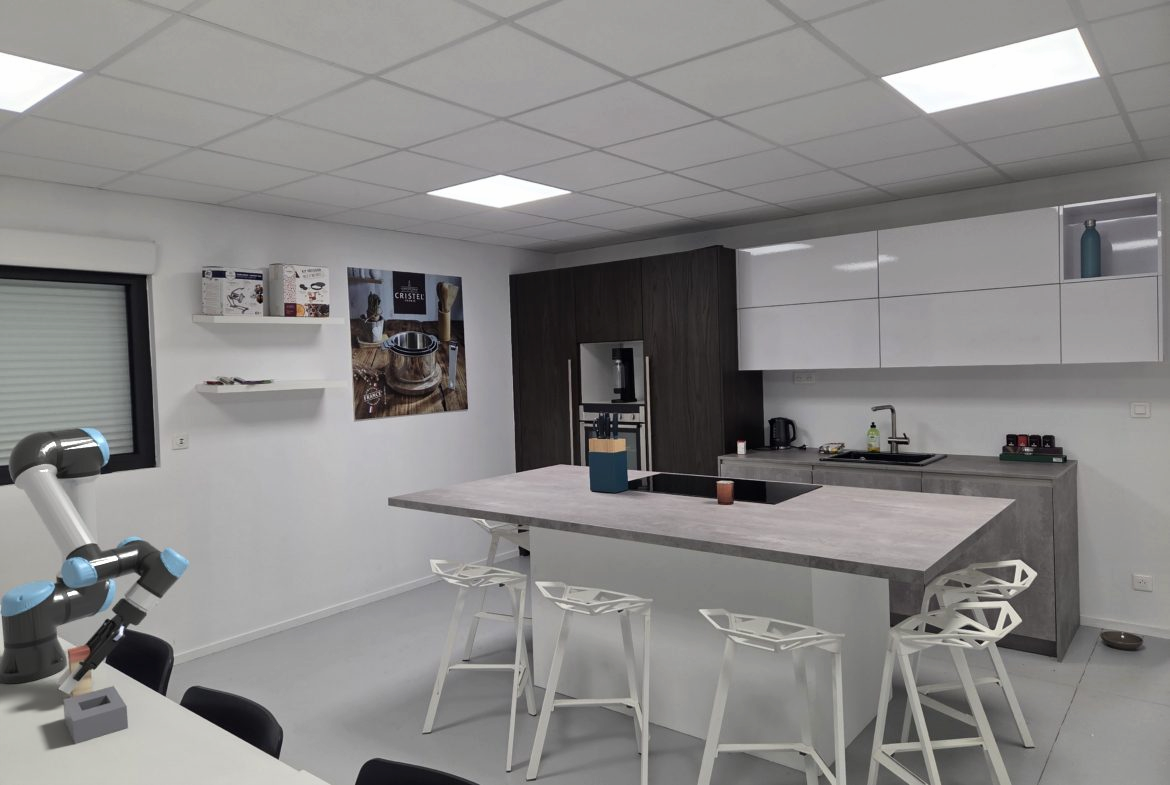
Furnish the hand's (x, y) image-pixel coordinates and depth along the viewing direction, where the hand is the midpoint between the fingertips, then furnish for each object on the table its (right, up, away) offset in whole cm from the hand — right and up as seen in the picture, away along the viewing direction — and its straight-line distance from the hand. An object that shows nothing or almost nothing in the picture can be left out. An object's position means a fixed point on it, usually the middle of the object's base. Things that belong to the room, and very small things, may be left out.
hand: (62, 688), depth 184 cm
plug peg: (+3, -3, +3) cm, 5 cm away
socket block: (+16, -4, -12) cm, 20 cm away
